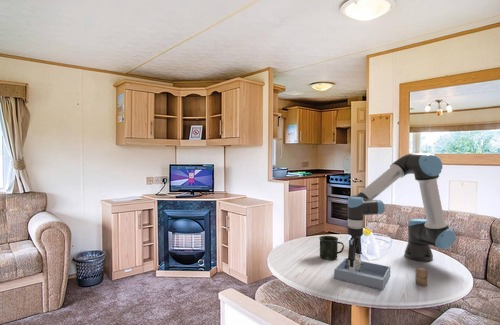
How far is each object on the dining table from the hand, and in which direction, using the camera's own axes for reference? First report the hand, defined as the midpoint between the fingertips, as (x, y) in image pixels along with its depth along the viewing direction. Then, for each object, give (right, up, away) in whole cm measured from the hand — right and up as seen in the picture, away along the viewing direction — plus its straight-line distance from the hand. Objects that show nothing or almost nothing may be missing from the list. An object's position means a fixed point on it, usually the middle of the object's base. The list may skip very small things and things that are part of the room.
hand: (354, 269), depth 161 cm
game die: (0, -1, 0) cm, 1 cm away
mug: (-5, -2, +26) cm, 27 cm away
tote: (+3, -4, -2) cm, 5 cm away
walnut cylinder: (+29, -4, -10) cm, 31 cm away
